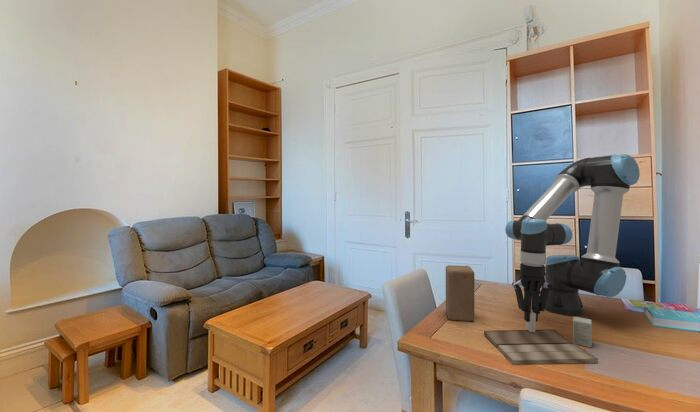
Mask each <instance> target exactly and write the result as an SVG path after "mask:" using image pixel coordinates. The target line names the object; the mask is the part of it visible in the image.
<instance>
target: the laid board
mask: <svg viewBox="0 0 700 412" xmlns="http://www.w3.org/2000/svg"><path fill="white" fill-rule="evenodd" d="M497 350H498V352H500V353H501V354H502V355H503V357H505V358H506V360H508V361H509V362H510V363H511V365H553V364H555V365H556V364H557V365H559V364H563V365H564V364H566V365H567V364H598V363H599V358H597V357H596V356H594V355H593V354H591V353H590V352H589V351H587V350H585V349H584V348H583V347H581V346H579V344H574V343H573V344H538V345H498V348H497Z"/></svg>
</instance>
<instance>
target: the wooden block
mask: <svg viewBox="0 0 700 412" xmlns="http://www.w3.org/2000/svg"><path fill="white" fill-rule="evenodd" d="M445 312H446V316H447V318H448V320H449V321H451V320H452V321H465V322H474V321H475V271H474V270H473V269H472V267H471V266H469V265H450V264H449V265H448V264H447V265H446V266H445Z"/></svg>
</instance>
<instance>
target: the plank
mask: <svg viewBox="0 0 700 412" xmlns="http://www.w3.org/2000/svg"><path fill="white" fill-rule="evenodd" d="M483 335H484V336H485V337H486V338H487V339H488V340H489V341H490V342H491V344H492V345H494V347H495V348H496V349H498V345H538V344H574V343H573V340H570V339H568V338H567V337H566V336H564V335H563V334H561V333H560V332H558V331H557V330H556V329H555V328H554V329H550V328H549V329H535V332H530V331H528V330H527V329H510V330H509V329H507V330H505V329H501V330H500V329H499V330H497V329H495V330H483Z"/></svg>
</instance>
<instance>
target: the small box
mask: <svg viewBox="0 0 700 412" xmlns="http://www.w3.org/2000/svg"><path fill="white" fill-rule="evenodd" d="M592 325H593V322H592V319H589V318H585V317H579V316H573V317H572V342H573V344H576V345H578V346H579V345H580V346H584V347H589V348H592V347H593V346H592V345H593V343H592V342H593V336H592V335H593V331H592V330H593V329H592V328H593V327H592Z"/></svg>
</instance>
